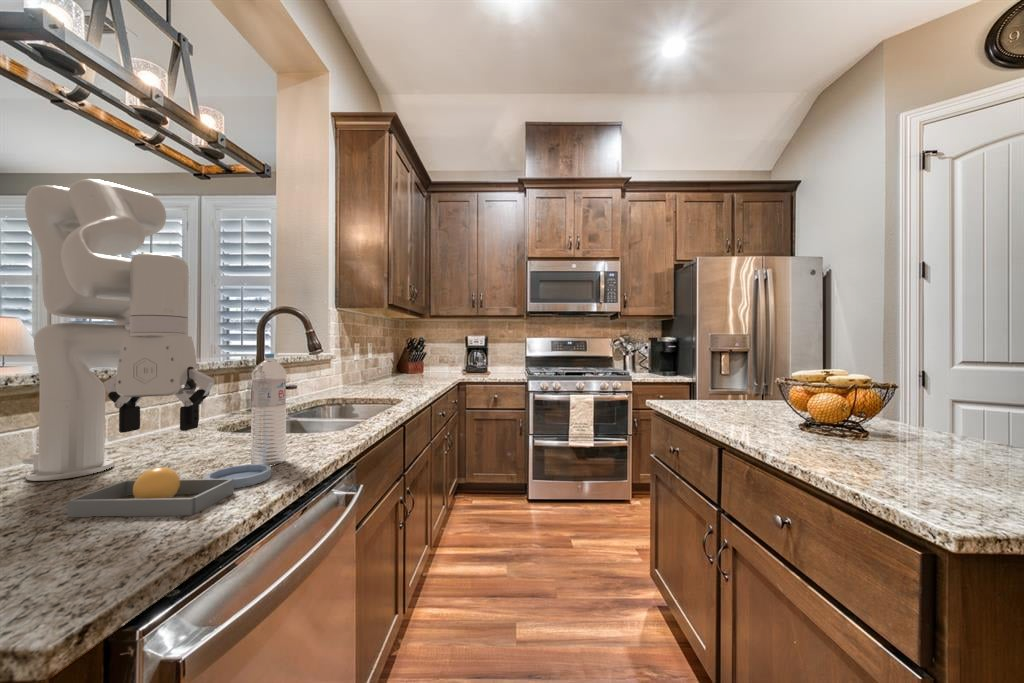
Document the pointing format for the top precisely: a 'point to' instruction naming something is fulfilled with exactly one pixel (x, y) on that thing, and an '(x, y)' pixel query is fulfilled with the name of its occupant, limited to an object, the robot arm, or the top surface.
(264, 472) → the dish
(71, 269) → the robot arm
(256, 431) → the water bottle
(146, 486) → the yellow-orange oval ball
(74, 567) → the top surface
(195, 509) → the shallow grey tray
